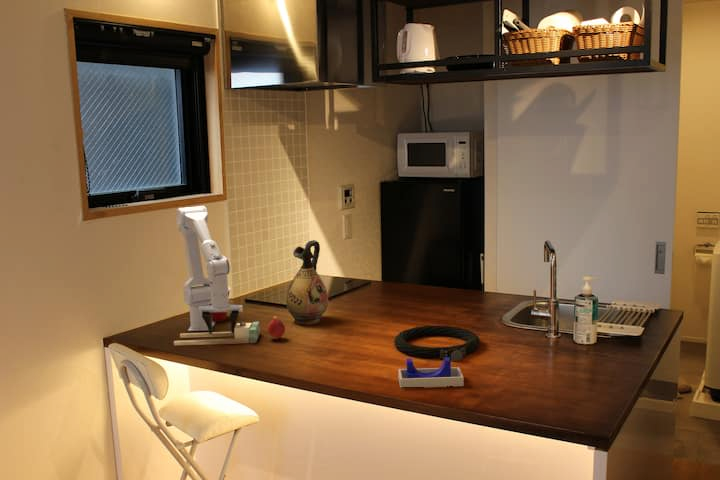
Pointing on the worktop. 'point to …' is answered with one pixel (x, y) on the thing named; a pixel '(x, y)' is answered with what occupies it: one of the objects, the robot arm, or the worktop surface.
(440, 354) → the cable lock
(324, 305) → the ceramic jug
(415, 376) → the blue saddle holder
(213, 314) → the plastic cup
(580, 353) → the worktop surface
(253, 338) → the guide rail
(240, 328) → the block
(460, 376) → the shallow grey tray
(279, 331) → the onion
